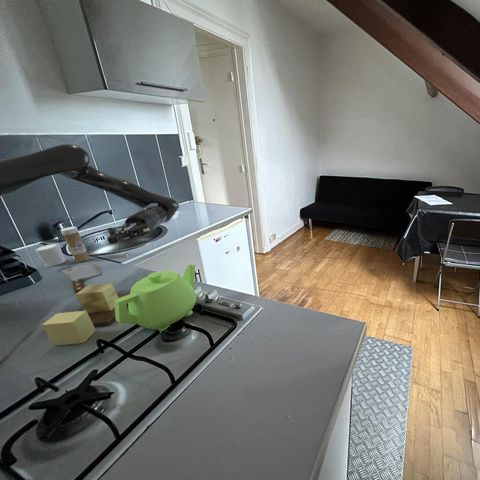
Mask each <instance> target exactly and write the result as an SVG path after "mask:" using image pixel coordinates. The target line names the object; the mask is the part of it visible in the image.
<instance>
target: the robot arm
mask: <svg viewBox="0 0 480 480" xmlns="http://www.w3.org/2000/svg"><path fill="white" fill-rule="evenodd" d="M55 175H60V176H63V177H65V178H67V179H70V180H74V181H76V182H80V183H83V184H85V185H89V186H91V187H94V188H97V189H99V190H102V191H105V192H107V193H110V194H112V195H114V196H116V197H118V198H120V199H123V200H125V201H127V202H129V203H131V204H133V205H134V206H137V207H138V208H142V210H140V211H138V212H136V213H133V214H132V215H130V216H128V217H127V218H125V220H124V223H123V224H122V225H119V226H118V227H117V228H115V227H108V228H107V231H108V233H109V236H108V237H107V241H108V244H110V245H116V244H118V243H119V242H121V241H124V240H127V239H134V238H137V237H144V236H146V235H147V234H150V233H151V232H152V231H154V230H155V229H156V228H158V226H160V225H162V224H167V223H168V222H169V221H171V220H172V218H173V217H174V216H175V214H176V213H177V212H178V210H179V208H180V204H179V202H178V201H177V200H176V199H175V198H173V197H170V196H166V195H164V194H159V193H155V192H152V191H149V190H148V189H146V188H144V187H142V186H140V185H138V184H136V183H134V182H132V181H129V180H127V179H123V178H119V177H115V176H112V175H109V174H107V173H104V172H102V171H100V170H99V169H97V168H95V167H94V166H92V165H91V158H90V154H89V153H88V152H87V151H86V150H85V149H84V148H83V147H81V146H78V145H76V144H70V143H63V144H58V145H55V146H51V147H48V148H45V149H42V150H39V151H35V152H33V153H28V154H25V155H21V156H14V157H9V158H4V159H0V198H1V197H5V196H8V195H10V194H13V193H15V192H18V191H20V190H21V189H24V188H26V187H28V186H29V185H31V184H34V183H36V182H37V181H39V180H41V179H44V178H47V177H52V176H55ZM151 204H156V205H154V206H150V205H151ZM149 206H150V207H149Z"/></svg>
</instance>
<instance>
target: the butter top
mask: <svg viewBox="0 0 480 480" xmlns="http://www.w3.org/2000/svg"><path fill="white" fill-rule="evenodd" d="M41 326H42V328H43V329H44V332H45V334H46V335H47V336H48V338H49V340H50V342H51V343H52V345H53V346H54V347H56V346H66V345H67V346H68V345H77V344H84V343H85V342H87V340H88V339H90V338H91V337H92V336H93V335H94V334H95V333H96V331H97V330H96V327H94V325H93V323H92V321H91V319H90V317H89V315H88V313H87V311H81V310H79V311H77V310H76V311H66V312H58V313H56V314H54V315H52V317H50V318H49V319H47V320H46V321H45V322H43V323H42V324H41Z"/></svg>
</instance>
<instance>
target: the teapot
mask: <svg viewBox="0 0 480 480" xmlns="http://www.w3.org/2000/svg"><path fill="white" fill-rule="evenodd" d="M195 274H196V264H193V263H192V264H189V265H187V266H186V268H185V270H184V273H183V276H182V275H180V274H179V273H177V272H175V271H170V270H163V271H154V272H151V273H149V274H148V275H146V276H145V277H144V278H141V279H140V280H138V281H137V282H135V283H134V284H133V285H131V286H132V287H131V289H130V292H129V293H130V294H129V295H126V296H124V297H121V298H118V299H115V300H114V302H115V317H116V320H115V321H116V322H117V323H119V324H136V325H138V326H140V327H143V328H146V329H148V330H159V331H160V332H159V331H158V332H159V333H162V332H161V331H163V330H165V329H167V328H168V327H169V326H170V327H171V325H172V324H175V323H176V322H178V321H180V320H181V319H183V318H186V317H189V316H191V315H192V314H193V313H194V312H193V310H192V309H194V307H195V305H196V303H197V299H198V298H197V294H196V292H195V279H196V278H195V276H196V275H195ZM127 303H128V308H127V305H126V304H127Z"/></svg>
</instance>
